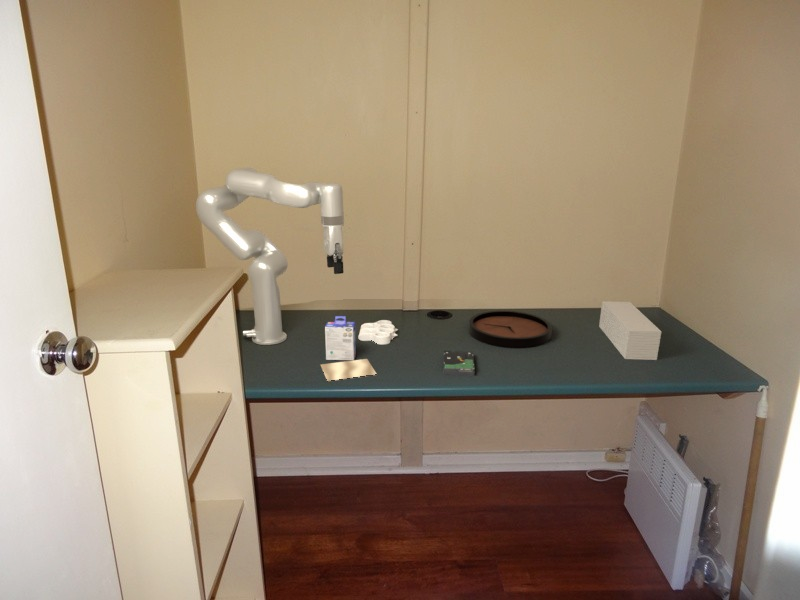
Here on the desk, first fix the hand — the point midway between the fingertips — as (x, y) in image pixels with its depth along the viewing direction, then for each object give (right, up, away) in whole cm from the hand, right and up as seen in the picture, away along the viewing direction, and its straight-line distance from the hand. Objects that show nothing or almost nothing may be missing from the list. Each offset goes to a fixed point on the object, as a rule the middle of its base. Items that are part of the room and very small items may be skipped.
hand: (335, 270), depth 188 cm
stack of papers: (+106, -26, +14) cm, 111 cm away
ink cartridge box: (+2, -30, -1) cm, 30 cm away
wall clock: (+65, -23, +22) cm, 72 cm away
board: (+5, -33, -11) cm, 35 cm away
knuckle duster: (+14, -24, +19) cm, 34 cm away
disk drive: (+42, -33, -7) cm, 54 cm away
